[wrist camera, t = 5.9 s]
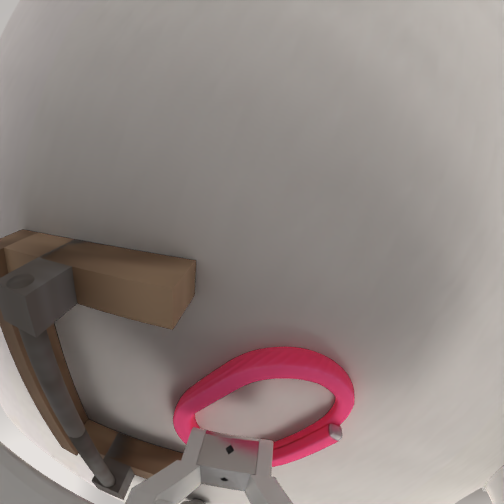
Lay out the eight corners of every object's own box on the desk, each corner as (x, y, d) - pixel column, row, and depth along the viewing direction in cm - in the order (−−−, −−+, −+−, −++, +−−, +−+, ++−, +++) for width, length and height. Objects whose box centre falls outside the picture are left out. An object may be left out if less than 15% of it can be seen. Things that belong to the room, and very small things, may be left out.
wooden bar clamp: (195, 260, 8) (135, 334, 5) (196, 464, 13) (180, 518, 9) (22, 229, 9) (-47, 260, 5) (78, 422, 13) (51, 462, 9)
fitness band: (245, 458, 12) (242, 480, 11) (157, 404, 12) (146, 426, 10) (377, 393, 10) (384, 419, 8) (284, 311, 9) (283, 337, 8)
